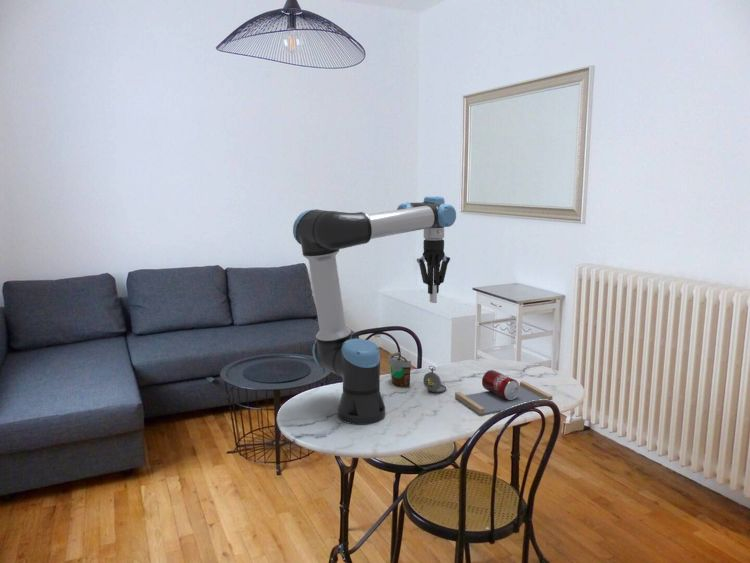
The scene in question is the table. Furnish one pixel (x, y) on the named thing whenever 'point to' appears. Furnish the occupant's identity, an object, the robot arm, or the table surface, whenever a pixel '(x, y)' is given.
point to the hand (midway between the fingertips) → (433, 302)
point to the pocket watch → (433, 382)
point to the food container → (400, 370)
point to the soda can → (500, 385)
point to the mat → (500, 399)
